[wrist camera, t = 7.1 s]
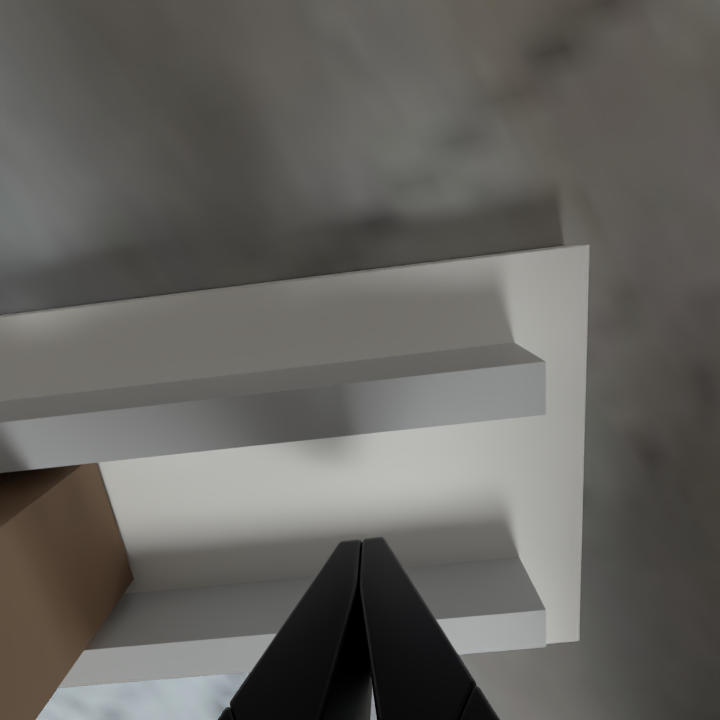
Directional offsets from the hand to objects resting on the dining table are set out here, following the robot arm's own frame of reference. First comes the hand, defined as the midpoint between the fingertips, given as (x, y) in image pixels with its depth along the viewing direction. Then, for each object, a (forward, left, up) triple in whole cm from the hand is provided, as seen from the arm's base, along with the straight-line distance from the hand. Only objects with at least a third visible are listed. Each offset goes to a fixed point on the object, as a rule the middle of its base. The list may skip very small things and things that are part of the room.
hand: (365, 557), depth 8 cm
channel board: (+6, 0, -3) cm, 7 cm away
